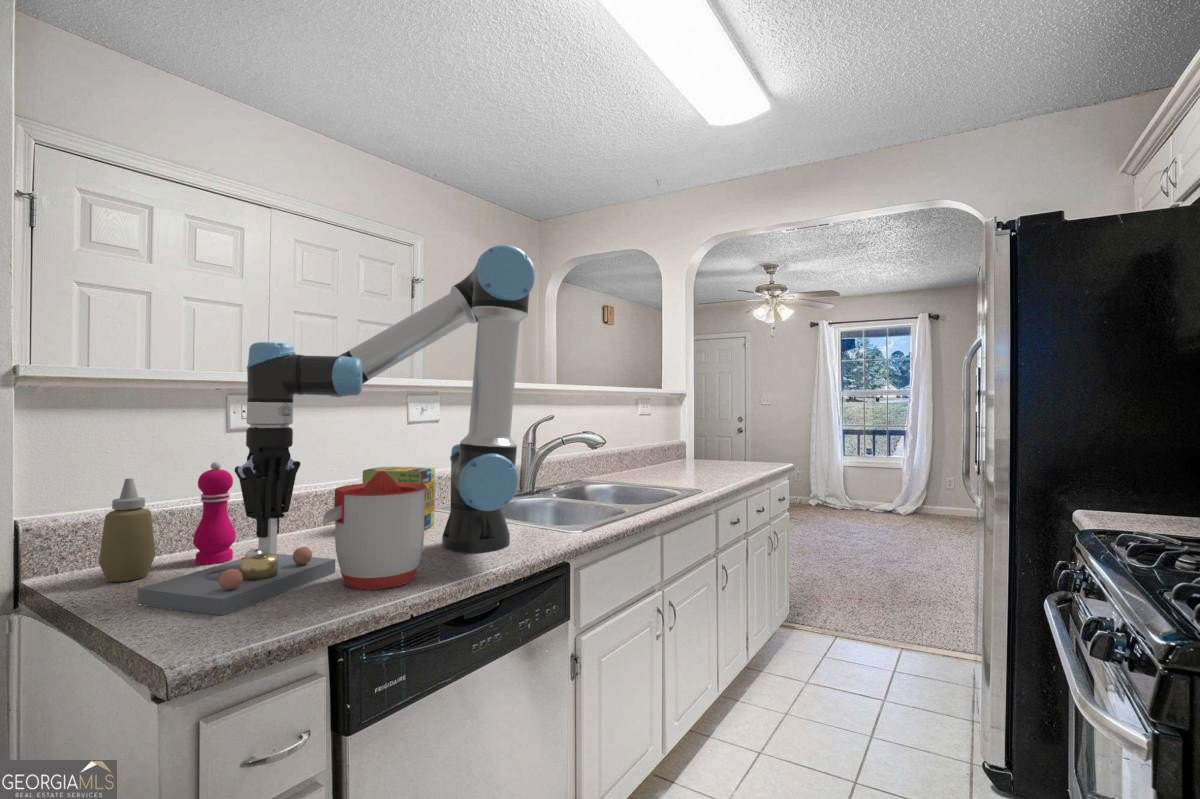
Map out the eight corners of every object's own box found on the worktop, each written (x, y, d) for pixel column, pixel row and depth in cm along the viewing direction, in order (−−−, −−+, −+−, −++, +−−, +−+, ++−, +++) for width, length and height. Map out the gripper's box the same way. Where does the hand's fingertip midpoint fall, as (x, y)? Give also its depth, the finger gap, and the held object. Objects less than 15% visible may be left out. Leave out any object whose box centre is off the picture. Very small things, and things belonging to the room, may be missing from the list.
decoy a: (316, 563, 108) (316, 545, 108) (303, 567, 105) (303, 549, 105) (301, 561, 109) (301, 544, 109) (288, 566, 106) (288, 548, 106)
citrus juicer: (313, 579, 106) (315, 469, 107) (409, 564, 117) (410, 464, 117) (332, 603, 94) (334, 478, 94) (438, 584, 104) (439, 471, 104)
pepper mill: (185, 565, 114) (186, 463, 115) (204, 556, 122) (205, 460, 122) (225, 564, 116) (226, 463, 116) (241, 555, 123) (243, 459, 123)
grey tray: (335, 572, 111) (335, 559, 111) (223, 615, 88) (223, 599, 88) (262, 565, 115) (262, 552, 115) (137, 604, 92) (137, 588, 92)
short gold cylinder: (285, 571, 102) (285, 553, 102) (259, 580, 96) (259, 561, 96) (259, 569, 103) (259, 551, 103) (232, 578, 98) (232, 559, 98)
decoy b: (247, 587, 94) (247, 567, 94) (229, 593, 91) (230, 572, 91) (231, 585, 94) (231, 565, 94) (213, 591, 91) (213, 570, 91)
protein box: (421, 533, 145) (421, 471, 145) (360, 532, 146) (361, 470, 146) (435, 525, 156) (436, 466, 156) (379, 523, 156) (379, 465, 157)
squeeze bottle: (138, 569, 111) (140, 475, 112) (165, 575, 108) (167, 477, 109) (87, 581, 104) (89, 480, 104) (115, 587, 101) (117, 482, 101)
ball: (250, 563, 103) (262, 570, 105) (260, 546, 105) (272, 554, 107) (236, 561, 104) (248, 568, 106) (246, 544, 106) (258, 552, 108)
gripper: (256, 427, 101) (254, 564, 101) (312, 425, 114) (310, 547, 113) (222, 426, 103) (219, 561, 103) (281, 424, 116) (279, 544, 116)
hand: (267, 553), depth 108 cm, fingers closed
